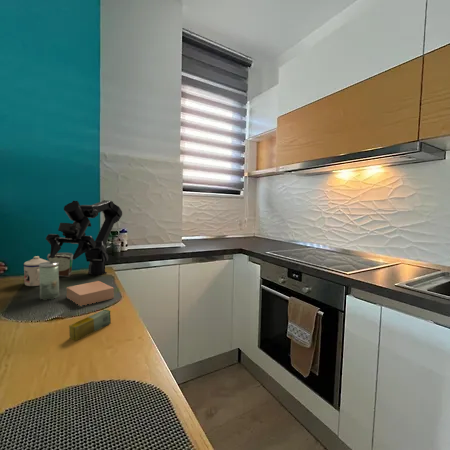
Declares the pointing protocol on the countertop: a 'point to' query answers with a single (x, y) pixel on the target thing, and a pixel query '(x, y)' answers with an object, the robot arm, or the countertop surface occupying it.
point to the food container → (63, 263)
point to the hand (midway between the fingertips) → (62, 258)
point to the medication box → (89, 325)
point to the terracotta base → (90, 293)
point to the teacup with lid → (32, 271)
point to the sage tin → (49, 280)
